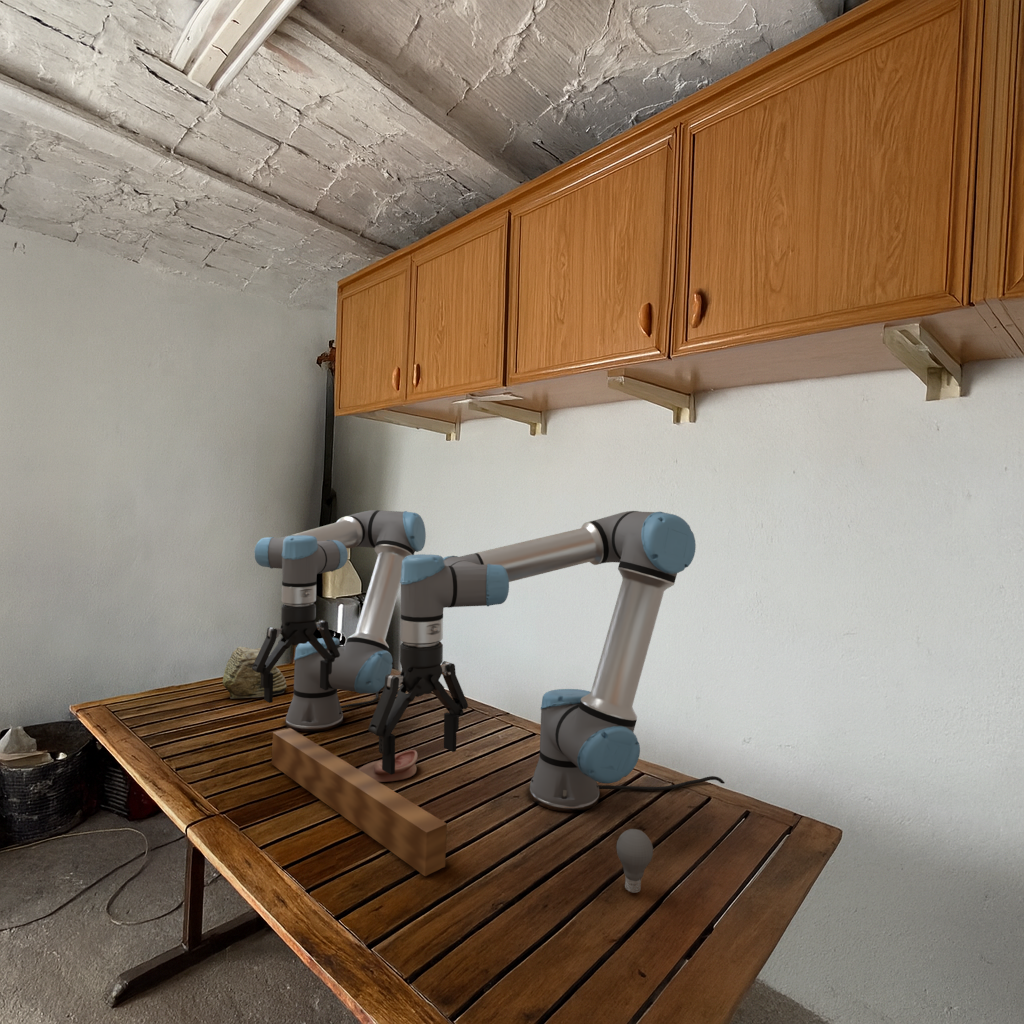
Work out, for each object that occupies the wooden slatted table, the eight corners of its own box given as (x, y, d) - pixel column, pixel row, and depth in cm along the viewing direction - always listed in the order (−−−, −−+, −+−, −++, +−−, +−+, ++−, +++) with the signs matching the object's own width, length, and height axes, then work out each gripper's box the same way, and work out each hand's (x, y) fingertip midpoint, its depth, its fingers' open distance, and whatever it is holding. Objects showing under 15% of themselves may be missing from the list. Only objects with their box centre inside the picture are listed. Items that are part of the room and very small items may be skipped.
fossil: (218, 695, 195) (220, 647, 195) (278, 685, 208) (279, 640, 207) (228, 703, 189) (230, 653, 188) (289, 692, 201) (290, 645, 201)
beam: (271, 764, 148) (272, 732, 148) (289, 759, 152) (290, 727, 151) (424, 876, 107) (426, 832, 107) (445, 866, 110) (447, 823, 110)
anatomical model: (349, 761, 142) (371, 742, 154) (348, 778, 142) (370, 758, 154) (405, 768, 140) (423, 749, 151) (404, 786, 140) (422, 765, 151)
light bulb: (610, 879, 108) (613, 822, 108) (644, 879, 109) (647, 822, 109) (619, 902, 102) (622, 840, 102) (655, 901, 103) (658, 840, 103)
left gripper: (251, 612, 133) (250, 711, 134) (355, 600, 151) (353, 687, 152) (237, 606, 139) (235, 702, 140) (339, 595, 156) (337, 679, 157)
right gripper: (373, 658, 101) (372, 789, 102) (487, 635, 119) (485, 746, 119) (348, 649, 106) (347, 774, 107) (461, 628, 124) (459, 735, 125)
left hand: (297, 694), depth 146 cm, fingers open, 13 cm apart
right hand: (420, 760), depth 113 cm, fingers open, 13 cm apart
